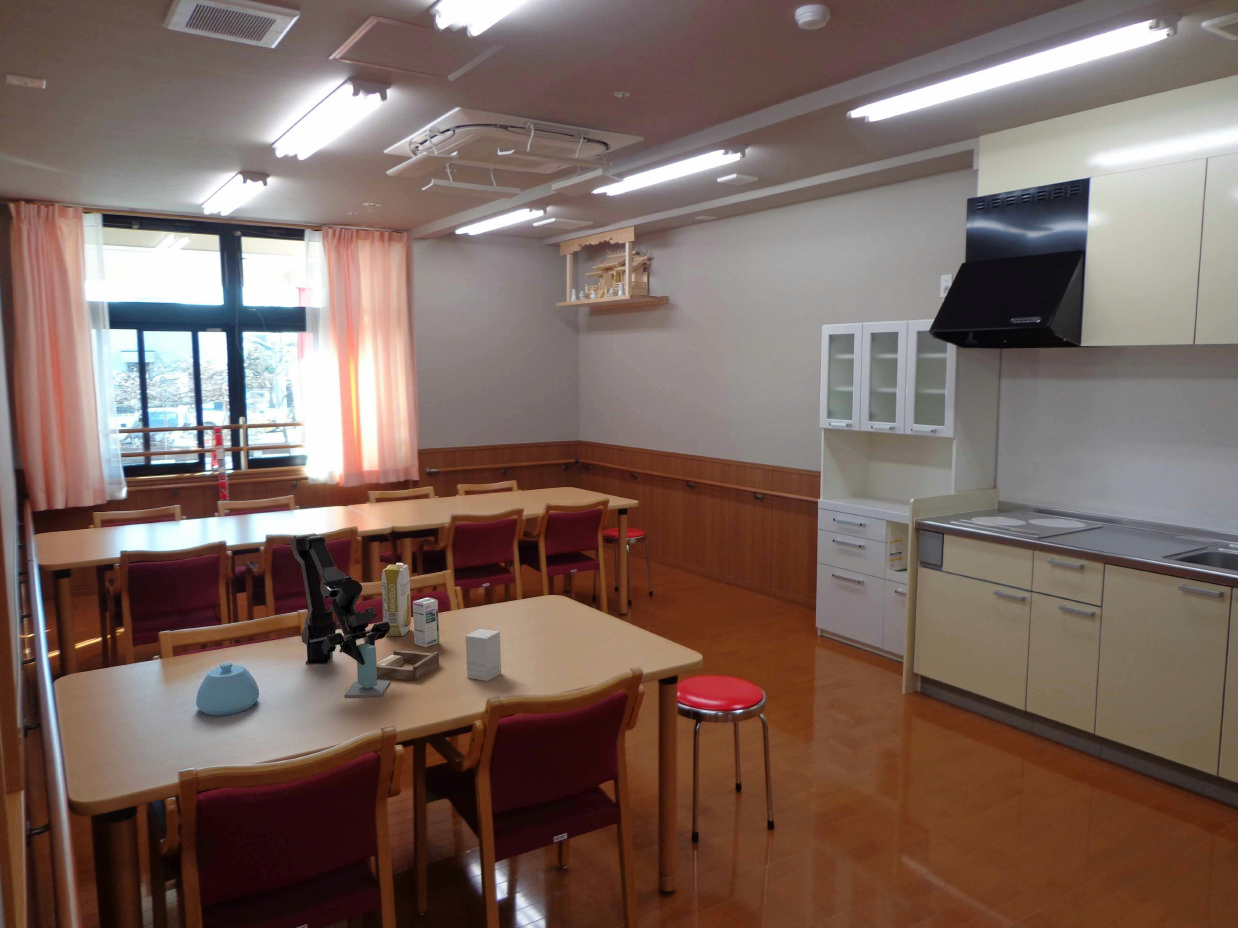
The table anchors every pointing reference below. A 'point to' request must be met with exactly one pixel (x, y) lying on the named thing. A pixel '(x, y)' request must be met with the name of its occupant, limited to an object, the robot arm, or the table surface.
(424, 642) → the syrup box
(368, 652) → the teal board
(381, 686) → the grey mat
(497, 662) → the supplement box
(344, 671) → the table surface
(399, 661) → the offcut stack
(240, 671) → the sugar bowl
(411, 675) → the walnut tray
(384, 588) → the juice carton
